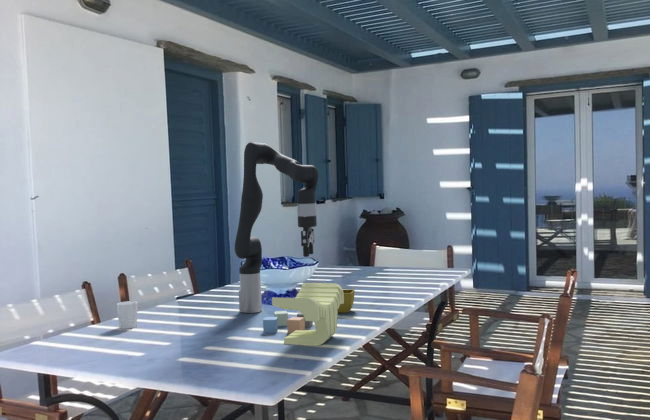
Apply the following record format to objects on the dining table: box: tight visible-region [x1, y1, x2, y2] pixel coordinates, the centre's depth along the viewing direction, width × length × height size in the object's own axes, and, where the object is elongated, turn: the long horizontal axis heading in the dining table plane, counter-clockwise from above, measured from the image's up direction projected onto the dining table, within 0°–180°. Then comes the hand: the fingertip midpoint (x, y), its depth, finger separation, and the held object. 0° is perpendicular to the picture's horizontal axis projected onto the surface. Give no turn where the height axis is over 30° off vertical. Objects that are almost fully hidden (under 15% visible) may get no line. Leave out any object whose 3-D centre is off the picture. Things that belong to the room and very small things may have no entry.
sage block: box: [273, 310, 289, 327], centre depth 237 cm, size 5×5×5 cm
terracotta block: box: [286, 316, 306, 334], centre depth 224 cm, size 5×5×5 cm
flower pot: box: [337, 288, 355, 314], centre depth 257 cm, size 9×9×9 cm
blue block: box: [262, 316, 279, 334], centre depth 226 cm, size 5×5×5 cm
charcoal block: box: [296, 311, 314, 328], centre depth 234 cm, size 5×5×5 cm
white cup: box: [116, 300, 138, 330], centre depth 243 cm, size 8×8×10 cm
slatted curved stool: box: [271, 282, 344, 346], centre depth 211 cm, size 30×16×18 cm, turn 162°
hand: (308, 255), depth 238 cm, fingers open, 8 cm apart
